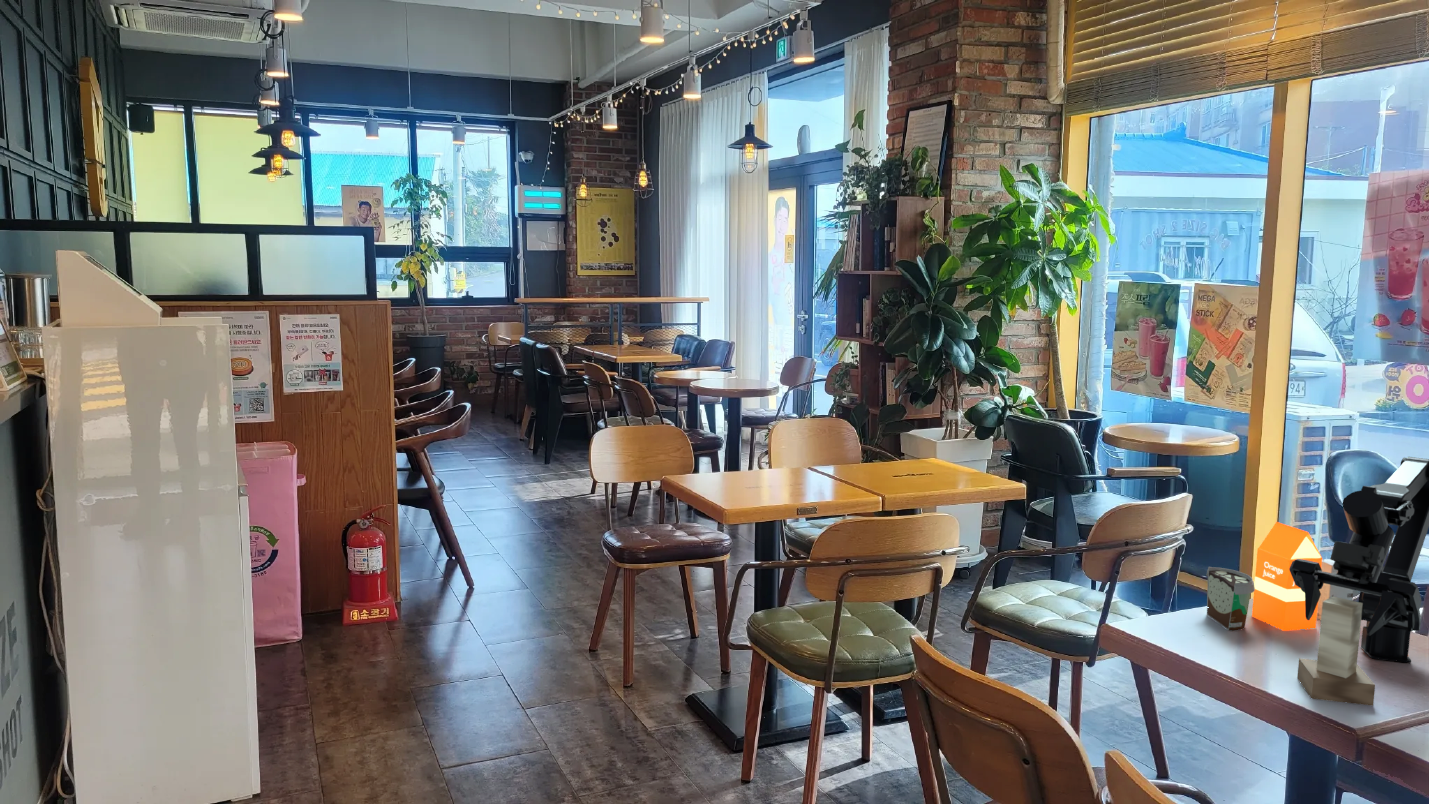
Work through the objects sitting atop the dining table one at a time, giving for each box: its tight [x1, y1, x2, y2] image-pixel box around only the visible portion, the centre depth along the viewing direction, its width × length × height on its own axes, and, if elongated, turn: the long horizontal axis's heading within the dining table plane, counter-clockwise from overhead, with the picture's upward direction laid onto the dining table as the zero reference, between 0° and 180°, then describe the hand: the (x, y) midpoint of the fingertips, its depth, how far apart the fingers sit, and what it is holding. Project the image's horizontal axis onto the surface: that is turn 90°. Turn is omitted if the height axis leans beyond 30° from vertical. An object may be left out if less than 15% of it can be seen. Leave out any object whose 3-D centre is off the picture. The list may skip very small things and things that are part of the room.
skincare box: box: [1316, 558, 1354, 621], centre depth 206 cm, size 6×4×12 cm
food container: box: [1206, 566, 1255, 632], centre depth 203 cm, size 12×6×10 cm, turn 179°
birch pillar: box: [1316, 597, 1363, 678], centre depth 169 cm, size 4×4×12 cm
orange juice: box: [1251, 521, 1323, 632], centre depth 203 cm, size 8×9×20 cm
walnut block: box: [1296, 657, 1376, 707], centre depth 170 cm, size 9×9×4 cm
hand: (1337, 626), depth 168 cm, fingers open, 9 cm apart
